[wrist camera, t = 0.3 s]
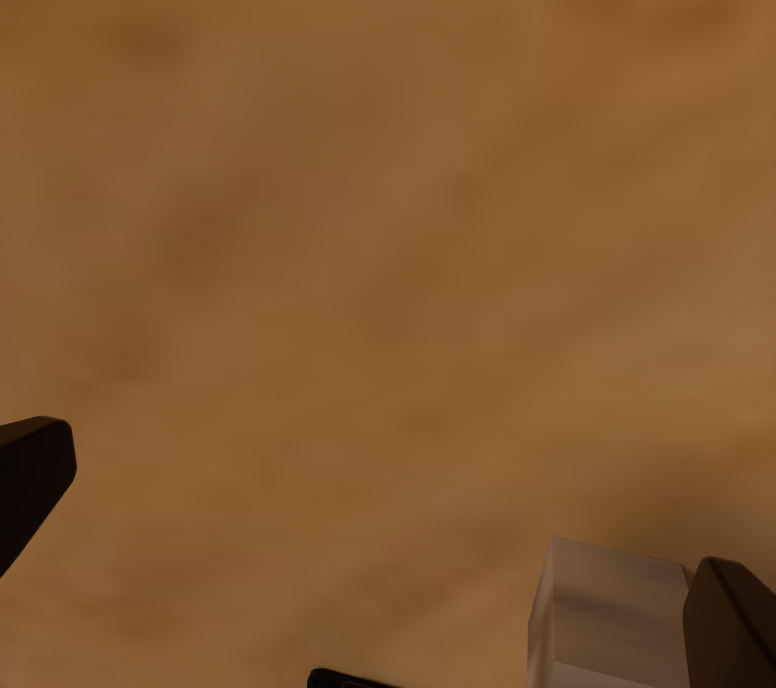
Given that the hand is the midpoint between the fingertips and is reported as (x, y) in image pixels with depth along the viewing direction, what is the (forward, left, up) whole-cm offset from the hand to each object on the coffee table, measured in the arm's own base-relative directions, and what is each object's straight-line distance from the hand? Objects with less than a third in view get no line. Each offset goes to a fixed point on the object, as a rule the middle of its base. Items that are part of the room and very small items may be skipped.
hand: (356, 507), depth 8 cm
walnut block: (-14, -8, -14) cm, 21 cm away
